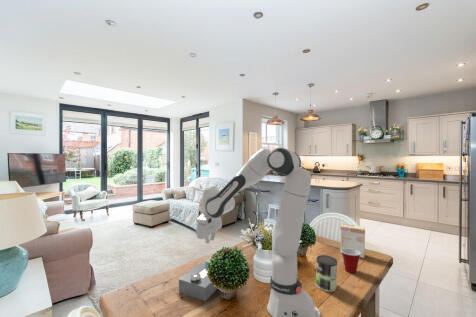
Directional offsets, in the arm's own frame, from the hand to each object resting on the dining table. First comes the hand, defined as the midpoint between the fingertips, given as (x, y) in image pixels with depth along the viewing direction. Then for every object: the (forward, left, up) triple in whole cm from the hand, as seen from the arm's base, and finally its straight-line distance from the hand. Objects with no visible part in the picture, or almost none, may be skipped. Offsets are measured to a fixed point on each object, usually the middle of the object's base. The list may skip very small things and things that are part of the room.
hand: (210, 241), depth 120 cm
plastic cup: (-70, -46, -21) cm, 86 cm away
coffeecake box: (-72, -72, -21) cm, 104 cm away
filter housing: (0, +6, -21) cm, 22 cm away
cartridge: (0, +4, -19) cm, 20 cm away
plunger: (0, +13, -19) cm, 23 cm away
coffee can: (-58, -23, -21) cm, 66 cm away
